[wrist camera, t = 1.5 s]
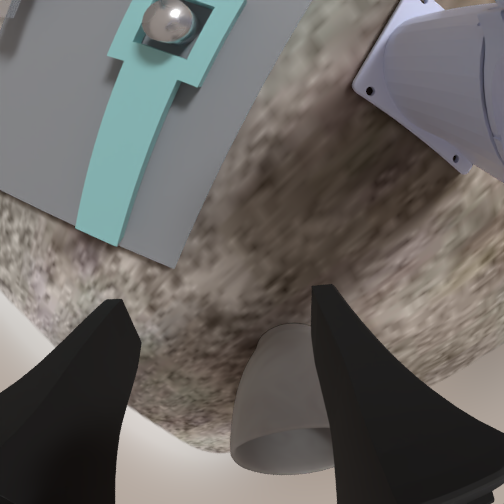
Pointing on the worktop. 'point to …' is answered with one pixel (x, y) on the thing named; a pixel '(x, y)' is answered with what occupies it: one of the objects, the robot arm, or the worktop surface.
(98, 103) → the board
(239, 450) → the mug
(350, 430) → the robot arm
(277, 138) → the worktop surface
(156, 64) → the link
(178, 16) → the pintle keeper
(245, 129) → the worktop surface
